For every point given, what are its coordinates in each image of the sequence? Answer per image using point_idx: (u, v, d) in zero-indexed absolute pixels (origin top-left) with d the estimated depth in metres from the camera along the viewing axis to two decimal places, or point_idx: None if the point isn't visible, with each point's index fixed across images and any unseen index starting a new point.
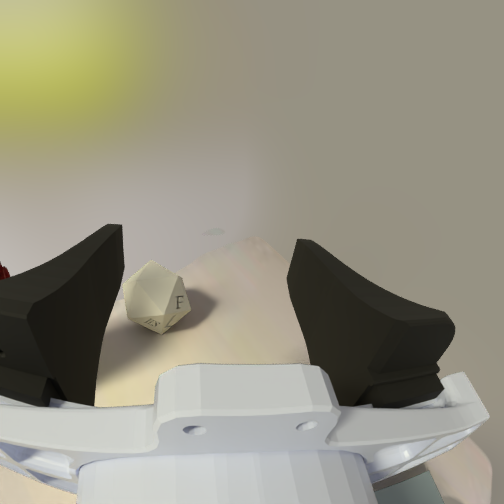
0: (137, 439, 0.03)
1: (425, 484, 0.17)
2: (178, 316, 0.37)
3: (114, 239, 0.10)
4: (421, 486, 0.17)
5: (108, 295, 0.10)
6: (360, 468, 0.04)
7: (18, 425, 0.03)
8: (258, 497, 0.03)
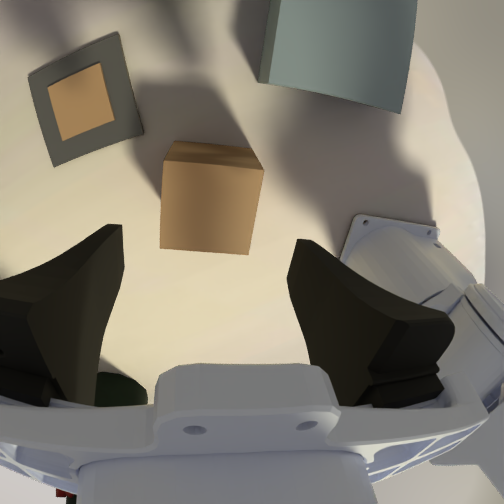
0: (137, 439, 0.03)
1: None
2: None
3: (114, 238, 0.10)
4: None
5: (108, 295, 0.10)
6: (360, 468, 0.04)
7: (18, 425, 0.03)
8: (258, 497, 0.03)
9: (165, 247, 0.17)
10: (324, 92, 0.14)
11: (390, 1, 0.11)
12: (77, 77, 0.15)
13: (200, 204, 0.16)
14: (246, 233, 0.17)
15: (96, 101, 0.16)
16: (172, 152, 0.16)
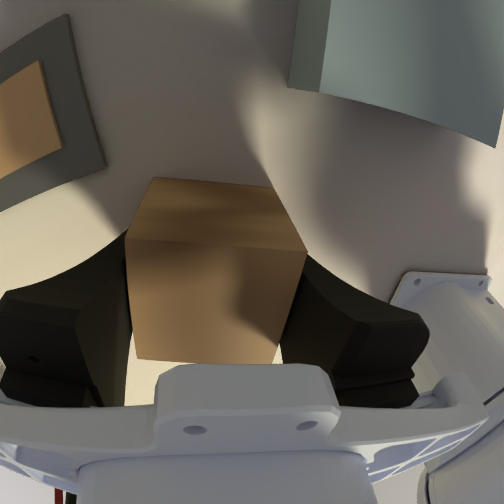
0: (137, 439, 0.03)
1: None
2: None
3: None
4: None
5: None
6: (360, 468, 0.04)
7: (18, 425, 0.03)
8: (258, 497, 0.03)
9: (145, 358, 0.10)
10: (407, 112, 0.08)
11: None
12: (11, 85, 0.08)
13: (196, 305, 0.09)
14: (270, 340, 0.10)
15: (36, 119, 0.09)
16: (144, 210, 0.09)
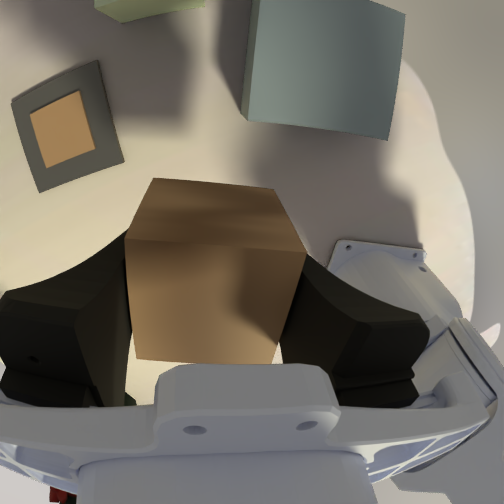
0: (137, 439, 0.03)
1: None
2: None
3: None
4: (286, 4, 0.11)
5: None
6: (360, 468, 0.04)
7: (18, 425, 0.03)
8: (258, 497, 0.03)
9: (145, 358, 0.10)
10: (306, 125, 0.15)
11: (375, 19, 0.12)
12: (58, 105, 0.15)
13: (196, 305, 0.09)
14: (270, 341, 0.10)
15: (77, 129, 0.16)
16: (144, 210, 0.09)
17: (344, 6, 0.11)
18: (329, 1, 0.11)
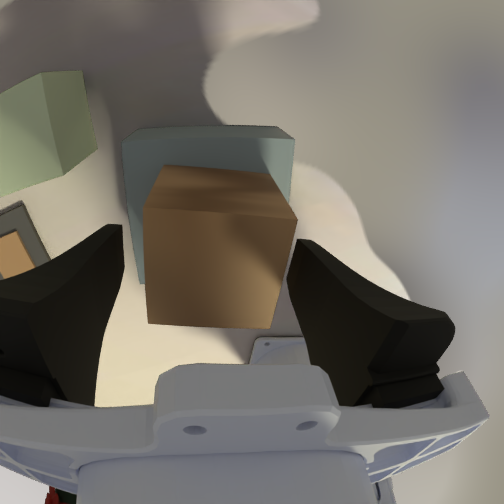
0: (137, 439, 0.03)
1: (149, 162, 0.13)
2: None
3: (114, 239, 0.10)
4: (149, 172, 0.13)
5: (108, 295, 0.10)
6: (360, 468, 0.04)
7: (18, 425, 0.03)
8: (258, 497, 0.03)
9: (155, 322, 0.12)
10: None
11: (253, 159, 0.14)
12: (4, 239, 0.17)
13: (202, 269, 0.11)
14: (268, 304, 0.12)
15: (23, 260, 0.18)
16: (158, 188, 0.11)
17: (213, 155, 0.14)
18: (194, 155, 0.13)
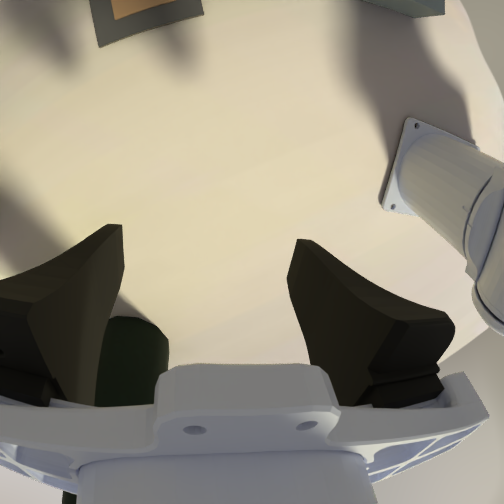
0: (137, 439, 0.03)
1: None
2: None
3: (114, 239, 0.10)
4: None
5: (108, 295, 0.10)
6: (360, 468, 0.04)
7: (18, 425, 0.03)
8: (259, 497, 0.03)
9: None
10: None
11: None
12: None
13: None
14: None
15: None
16: None
17: None
18: None
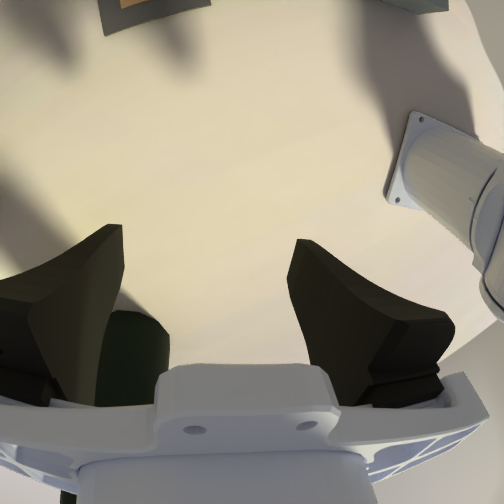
0: (137, 439, 0.03)
1: None
2: None
3: (114, 239, 0.10)
4: None
5: (108, 295, 0.10)
6: (360, 468, 0.04)
7: (18, 425, 0.03)
8: (258, 497, 0.03)
9: None
10: None
11: None
12: None
13: None
14: None
15: None
16: None
17: None
18: None
